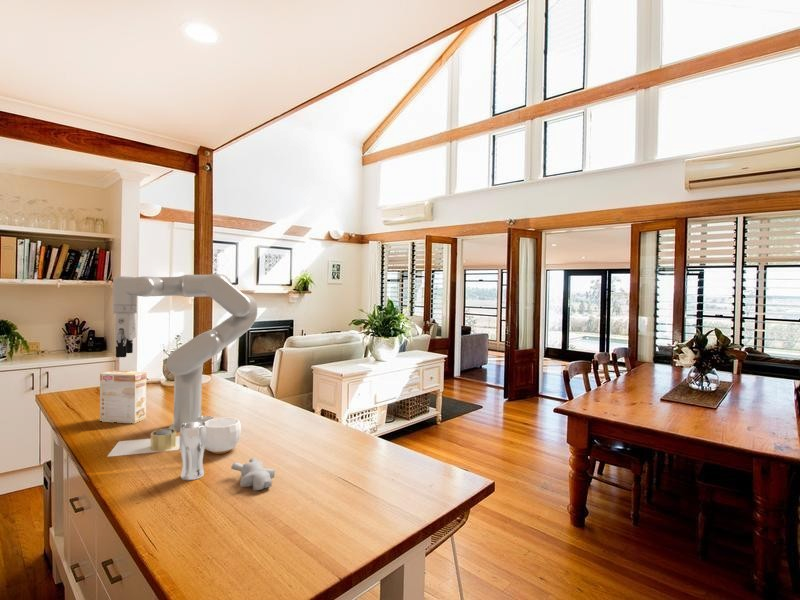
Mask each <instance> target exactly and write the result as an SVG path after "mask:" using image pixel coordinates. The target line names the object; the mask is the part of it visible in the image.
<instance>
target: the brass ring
mask: <svg viewBox="0 0 800 600" xmlns="http://www.w3.org/2000/svg"><path fill="white" fill-rule="evenodd" d="M161 430H171V431H172V433H170V434H166V435H155V433H156V432H157V431H161ZM176 436H177V431H176V430H175V429H169V427H168V428H160V429H156V430H153V431H151V433H150V439H151V450H153V451H162V452H166V451H165V450H169V449H172V448H174V447H175V446H176Z"/></svg>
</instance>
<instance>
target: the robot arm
mask: <svg viewBox="0 0 800 600" xmlns="http://www.w3.org/2000/svg"><path fill="white" fill-rule="evenodd" d="M112 284H113V285H112V314H115V321H114V322H115V324H114V326H115V327H114V338H115V340H116V343H115V357H116V358H126V357H127V354H132V353H134V348H133V347H134V346H133V345H134V344H133V342H134V341H133V340H134V339H135V338H136V336H137V333H136V332H137V331H136V314H137V313H138V312H137V311H138V297H144V298H146V297H171V296H172V297H173V296H174V297H177V296H179V297H184V298H197V297H199V298H200V297H203V298H204V297H210V298H211V299H212V300H213V301H214V302H215V303H217V304H218V305H219V306H221V307H222V308H223V309H224V310H225V311H227V312H228V313H229V314H230V317H228V318H227V319H225V320H223V321H222V322H221V323H219V324H218V325H216V326H215V327H213V328H211V329H210V330H209V329H208V330H207V331H204V332H202V333H200V334H198V335H197V336H195V337H194V338H191V339H190V340H188V341H187V342H186V343H185V344H183V345H181V346H179V347H178V348H177V349H176V350H173V352H171V353H170V354H169V356H168V357H167V360H166V369H167V370H168V371H169V372H170V374H172V375H174V383H173V384H174V385H173V423H171V424H170V425H169V426H168V428H169V429H175V430H176V432H180V428H181V425H182V424H184V423H187V422H193V421H201V422H206V421H208V420H211V419H214V418H215V417H214V416H211V415H209V416H205V415H203V412H202V392H203V391H202V387H203V383H202V382H203V368H204V363H207V362H208V361H209V360H210V359H212V358H213V357H215V356H216V355H218V354H219V353H221V352H222V351H223V350H224V349H225V348H226V347H228V346H230V344H232V343H233V342H235V341H236V340H237V339H239V338H240V337H242V336H243V335H244V334H245V333H247V332H248V331H249V330H250V329H251V328H252V326H253V325H254V323H255V321H256V319H257V317H258V305H257V301H256V299H255V298H254V297H253V296H252V295H250V294H246V293H243V292H241V291H240V289H239V290H238V289H237V288H236V287H235V286H234V285H233V284H232V281H231V279H230V277H228V276H227V275H224V274H220V273H213V274H183V275H181V276H115V277H114V278H113V280H112Z"/></svg>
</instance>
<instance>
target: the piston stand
mask: <svg viewBox="0 0 800 600" xmlns="http://www.w3.org/2000/svg"><path fill="white" fill-rule="evenodd" d="M170 433H172V431H171V430H161V431H157V432H156V433H155V435H166V434H170ZM179 440H180V435H176V446H175V447H174V448H172V449H169V450H165V451H164V452H171V451H180V441H179ZM158 452H159V453H161V452H163V451H153V450H151V438H139V439H130V440H122V441H121V440H120V441H118V442H117V443H116V445H115V446H114V447H113V448H112V450H111V451H110V452H109V453H108V455H107V456H106V457H107V458H110V457H119V456H131V455H139V454H140V455H141V454H149V453H158Z"/></svg>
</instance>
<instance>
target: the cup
mask: <svg viewBox="0 0 800 600" xmlns="http://www.w3.org/2000/svg"><path fill="white" fill-rule="evenodd" d="M205 423H206V445H205V450H207V451H209V452H211V453H213V454H216V455H219V454H220V455H221V454H226V453H228V452H230V451H231V450H233V449H234V448H235V447H236V446H237V444H238V443H239V440H240V438H241V436H242V425H241V422H240V420H239V418H236V417H231V416H230V417H229V416H226V417H222V416H221V417H214V419H211V420H208V421H206V422H205Z"/></svg>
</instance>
